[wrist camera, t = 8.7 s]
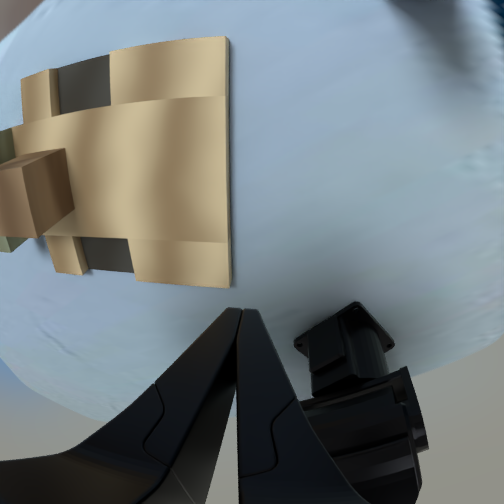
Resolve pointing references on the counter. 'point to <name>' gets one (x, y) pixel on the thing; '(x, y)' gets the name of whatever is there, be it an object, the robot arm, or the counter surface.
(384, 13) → the counter surface
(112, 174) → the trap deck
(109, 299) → the counter surface
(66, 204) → the walnut block
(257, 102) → the counter surface
